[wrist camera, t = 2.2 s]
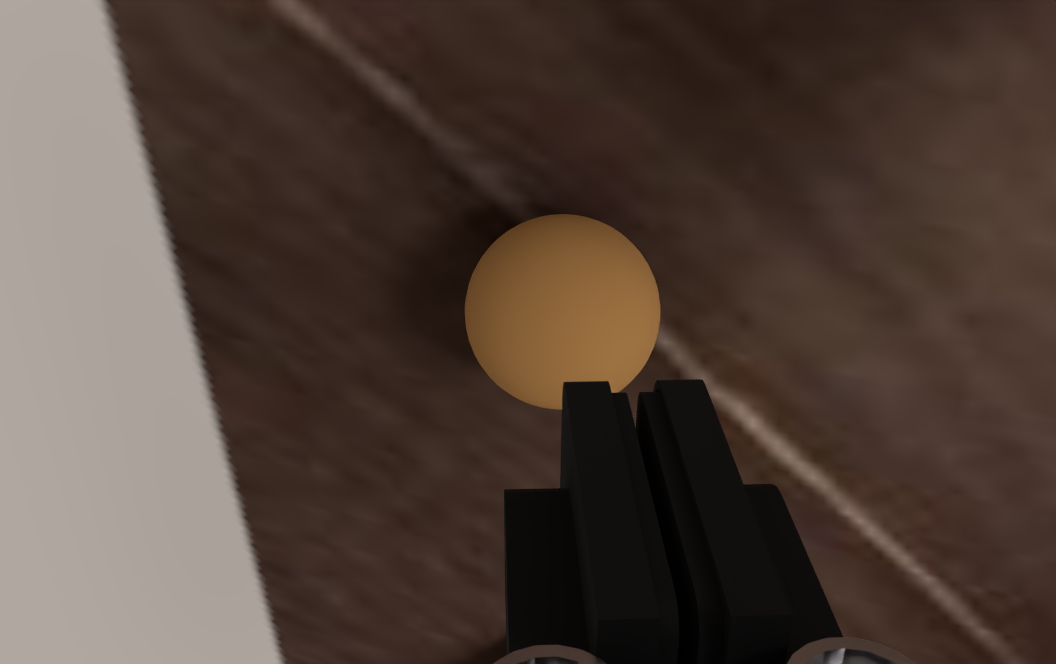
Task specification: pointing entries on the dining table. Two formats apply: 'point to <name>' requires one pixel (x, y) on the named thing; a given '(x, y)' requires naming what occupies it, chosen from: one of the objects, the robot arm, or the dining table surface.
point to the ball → (561, 308)
